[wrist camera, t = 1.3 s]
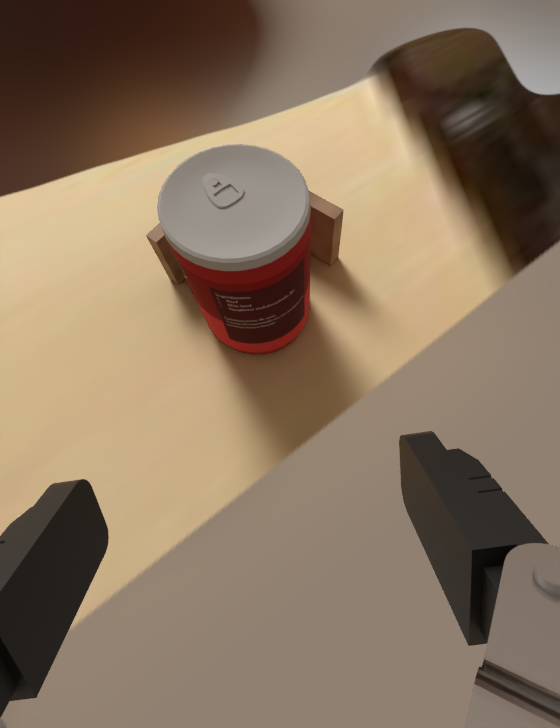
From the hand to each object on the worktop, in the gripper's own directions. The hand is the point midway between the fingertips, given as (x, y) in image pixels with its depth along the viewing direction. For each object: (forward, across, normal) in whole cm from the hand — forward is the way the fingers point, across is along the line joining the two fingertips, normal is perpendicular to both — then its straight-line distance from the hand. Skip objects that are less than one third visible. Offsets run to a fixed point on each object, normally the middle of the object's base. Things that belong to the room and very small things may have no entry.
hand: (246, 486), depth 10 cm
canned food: (+21, 0, +1) cm, 21 cm away
